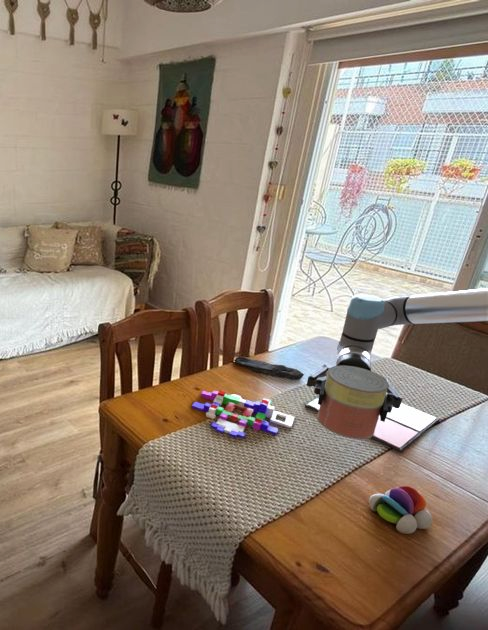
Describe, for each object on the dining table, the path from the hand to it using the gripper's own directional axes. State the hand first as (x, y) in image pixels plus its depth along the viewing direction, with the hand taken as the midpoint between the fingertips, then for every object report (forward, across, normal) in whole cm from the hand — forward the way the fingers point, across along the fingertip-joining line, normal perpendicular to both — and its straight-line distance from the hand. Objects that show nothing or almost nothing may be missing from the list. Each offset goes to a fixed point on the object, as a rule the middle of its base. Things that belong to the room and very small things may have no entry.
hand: (351, 407), depth 94 cm
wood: (-44, +22, -18) cm, 52 cm away
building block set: (-11, +23, -18) cm, 31 cm away
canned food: (-4, 0, -7) cm, 8 cm away
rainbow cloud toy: (+8, -12, -18) cm, 23 cm away
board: (-33, -8, -18) cm, 38 cm away
